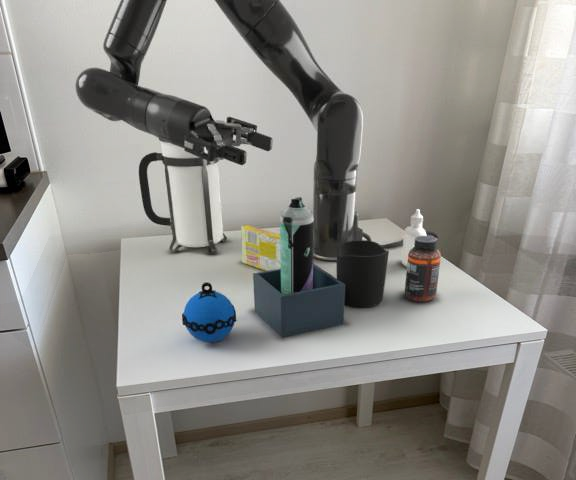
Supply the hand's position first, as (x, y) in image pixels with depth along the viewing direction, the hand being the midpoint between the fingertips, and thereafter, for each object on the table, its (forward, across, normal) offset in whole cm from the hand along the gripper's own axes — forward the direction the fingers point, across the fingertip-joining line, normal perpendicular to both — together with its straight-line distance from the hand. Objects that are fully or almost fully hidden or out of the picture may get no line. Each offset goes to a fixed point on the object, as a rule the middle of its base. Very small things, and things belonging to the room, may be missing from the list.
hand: (258, 151), depth 93 cm
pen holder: (+22, +5, +23) cm, 32 cm away
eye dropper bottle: (+26, +28, +24) cm, 45 cm away
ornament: (+7, -22, +24) cm, 33 cm away
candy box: (0, +11, +29) cm, 31 cm away
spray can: (+15, -7, +22) cm, 28 cm away
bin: (+15, -7, +23) cm, 28 cm away
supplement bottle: (+32, +12, +21) cm, 40 cm away
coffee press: (-24, +17, +35) cm, 45 cm away
